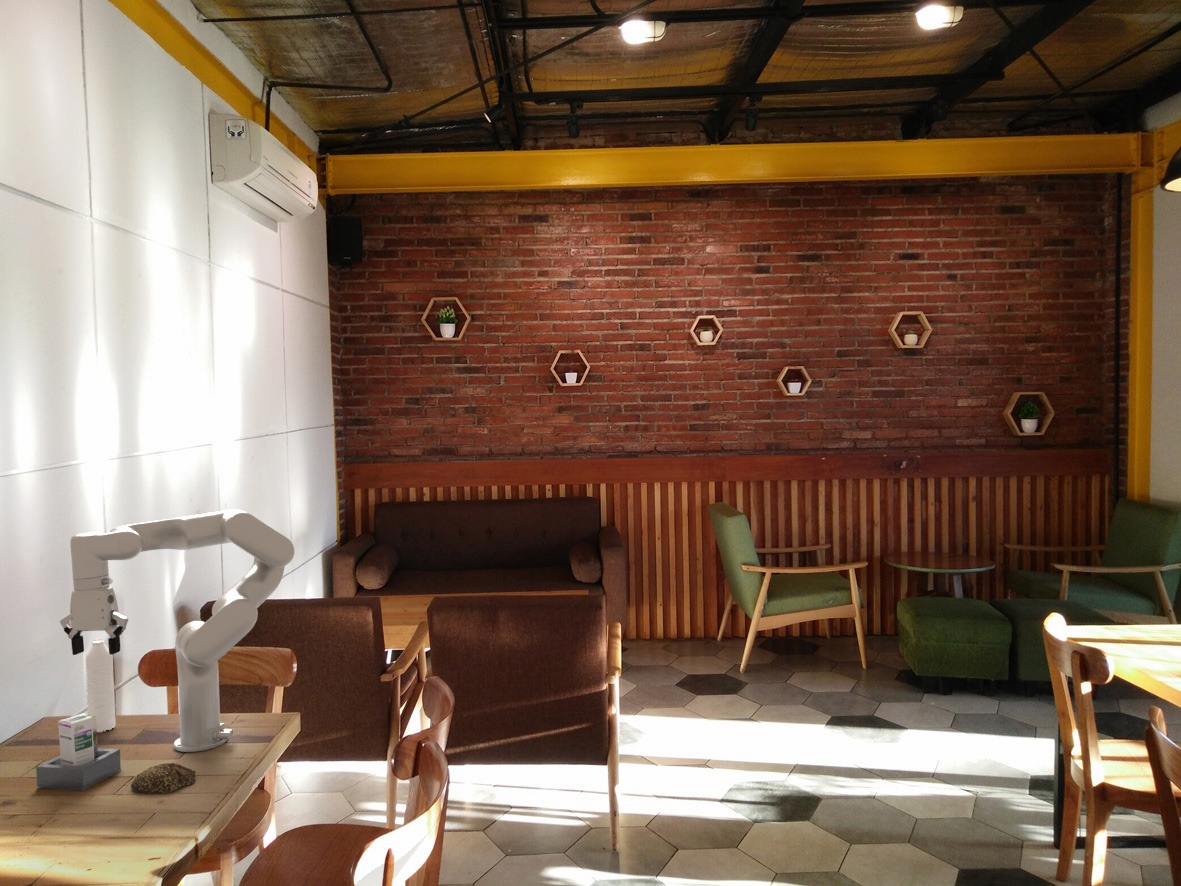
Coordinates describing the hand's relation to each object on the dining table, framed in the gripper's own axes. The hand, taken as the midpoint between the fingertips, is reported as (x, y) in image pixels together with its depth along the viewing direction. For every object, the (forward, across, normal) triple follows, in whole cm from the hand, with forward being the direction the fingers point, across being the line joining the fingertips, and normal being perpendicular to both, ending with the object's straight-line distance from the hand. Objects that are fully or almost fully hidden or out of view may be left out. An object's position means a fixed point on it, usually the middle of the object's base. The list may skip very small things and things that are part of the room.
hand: (96, 653), depth 211 cm
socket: (+27, 0, +9) cm, 29 cm away
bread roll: (+28, -23, +10) cm, 37 cm away
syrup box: (+28, 0, +9) cm, 29 cm away
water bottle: (+28, +17, -22) cm, 39 cm away
